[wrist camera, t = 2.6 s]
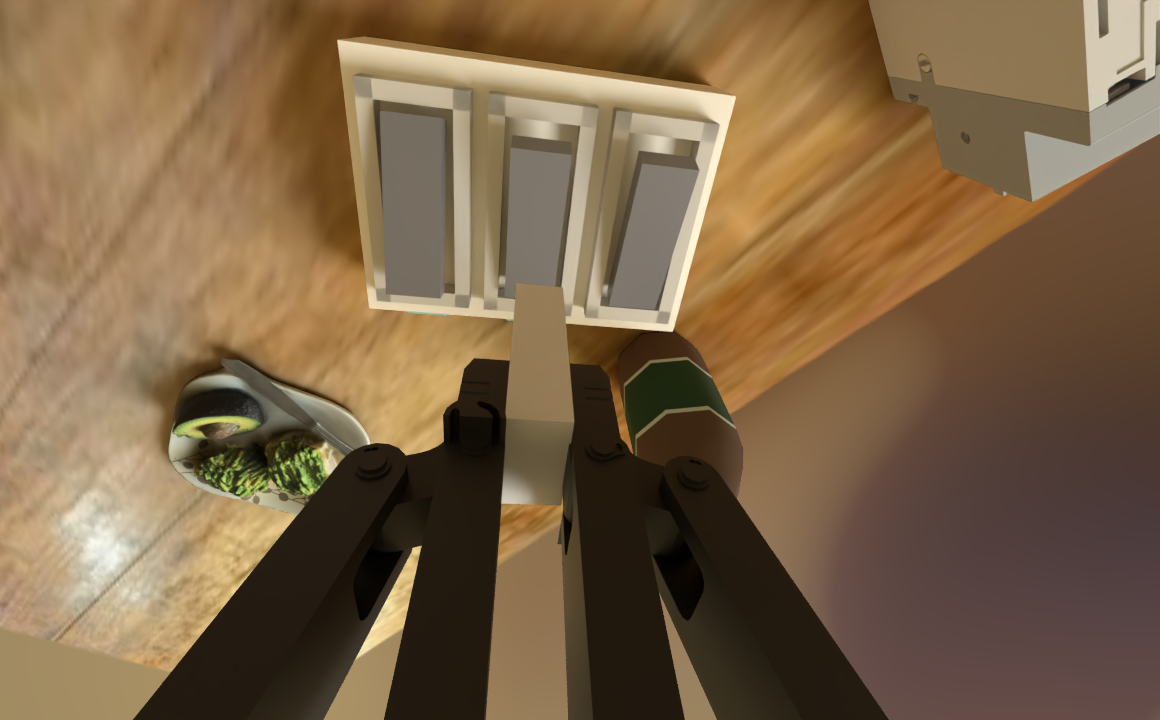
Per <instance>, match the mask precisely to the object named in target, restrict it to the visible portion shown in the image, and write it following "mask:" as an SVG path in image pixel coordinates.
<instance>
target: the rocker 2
mask: <svg viewBox="0 0 1160 720" xmlns="http://www.w3.org/2000/svg"><path fill="white" fill-rule="evenodd" d="M571 160H572V146H571V142H566V141H558V140H550V139H542V138H534V137H526V136H518V135H512V143H511V157H510V181H509V205H508V230H507V254H506V278H505V297H508V298H515V295H516V283H519V284H531V285H542V286H554V287H555V282H556V275H557V267H558V259H559V252H560V244H561V236H562V229H563V221H564V213H565V206H566V198H567V190H568V183H569V175H570V167H571Z"/></svg>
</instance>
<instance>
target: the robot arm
mask: <svg viewBox="0 0 1160 720" xmlns="http://www.w3.org/2000/svg"><path fill="white" fill-rule="evenodd" d="M443 425H444V442H443V443H442V444H440V445H439V446H437V447H435V448H433V449H431V450H429V451H425V452H422V453H417V454H412V455H407V456H405V454H404V453H403V452H402V451H401V450H400V449H399V448H397V447H395V446H392V445H390V444H380V443H375V444H369V445H364V446H361V447H359V448H357V449H355V450H353V451H351V452H350V453H349V454H348V455H346V456H345V457H344V458H343V459H342V460H341V461H340V463H339V464H338V465H337V466H336V468H335V469H334V470H333V471H332V473H331V474H330V475H329V476H328V478H327V479H326V480H325V481H324V483H323V484H322V485H321V486H320V488H319V489H318V490H317V491H316V493H315V494H314V495H313V496H312V498H311V499H310V500H309V501H308V503H307V504H306V505H305V506H304V508H303V509H302V510H301V511H300V513H299V514H298V515H297V516H296V518H295V519H294V520H293V521H292V523H291V524H290V525H289V526H288V527H287V529H286V530H285V531H284V532H283V534H282V535H281V536H280V537H279V539H278V540H277V541H276V542H275V544H274V545H273V546H272V547H271V549H270V550H269V551H268V552H267V554H266V555H265V556H264V557H263V559H262V560H261V561H260V562H259V564H258V565H257V566H256V567H255V569H254V570H253V571H252V572H251V574H250V575H249V576H248V577H247V579H246V580H245V581H244V582H243V584H242V585H241V586H240V587H239V588H238V590H237V591H236V592H235V593H234V595H233V596H232V597H231V598H230V600H229V601H228V602H227V603H226V605H225V606H224V607H223V608H222V610H221V611H220V612H219V613H218V615H217V616H216V617H215V618H214V620H213V621H212V622H211V623H210V625H209V626H208V627H207V628H206V630H205V631H204V632H203V633H202V635H201V636H200V637H199V638H198V640H197V641H196V642H195V643H194V645H193V646H192V647H191V648H190V649H189V651H188V652H187V653H186V654H185V656H184V657H183V658H182V659H181V661H180V662H179V663H178V664H177V666H176V667H175V668H174V669H173V671H172V672H171V673H170V674H169V676H168V677H167V678H166V679H165V681H164V682H163V683H162V685H161V686H160V687H159V688H158V689H157V691H156V692H155V693H154V694H153V696H152V697H151V698H150V699H149V701H148V702H147V703H146V704H145V706H144V707H143V708H142V709H141V710H140V712H139V713H138V714H137V715H136V717H135V718H134V719H133V720H323V719H324V717H325V715H326V714H327V712H328V710H329V708H330V706H331V704H332V702H333V700H334V698H335V697H336V695H337V693H338V691H339V688H340V687H341V685H342V683H343V681H344V679H345V677H346V675H347V674H348V672H349V670H350V668H351V666H352V664H353V662H354V660H355V658H356V657H357V655H358V653H359V651H360V649H361V647H362V645H363V643H364V641H365V639H366V637H367V636H368V634H369V632H370V630H371V628H372V626H373V624H374V622H375V620H376V618H377V617H378V615H379V613H380V611H381V609H382V607H383V605H384V603H385V601H386V599H387V597H388V596H389V594H390V592H391V590H392V588H393V586H394V584H395V582H396V580H397V578H398V577H399V575H400V573H401V571H402V569H403V567H404V565H405V563H406V561H407V559H408V557H409V556H410V554H411V552H412V548H414V547H417V546H421V545H422V547H421V552H420V556H419V561H418V566H417V570H416V575H415V579H414V584H413V588H412V593H411V598H410V602H409V607H408V611H407V616H406V621H405V625H404V630H403V634H402V639H401V644H400V648H399V653H398V657H397V662H396V666H395V671H394V676H393V680H392V685H391V690H390V694H389V699H388V703H387V708H386V712H385V717H384V720H485V719H486V705H487V692H488V678H489V665H490V652H491V639H492V626H493V612H494V599H495V598H494V597H495V584H496V572H497V558H498V545H499V531H500V517H501V503H504V504H535V505H561V502H562V496H563V514H562V520H561V526H560V533H559V539H558V544H562V565H563V592H564V618H565V643H566V670H567V696H568V720H685V719H684V713H683V709H682V704H681V699H680V694H679V689H678V684H677V679H676V674H675V669H674V664H673V659H672V655H671V650H670V645H669V640H668V635H667V630H666V625H665V620H664V615H663V610H662V605H661V600H660V596H659V593H660V595H661V597H662V599H663V601H664V603H665V606H666V608H667V610H668V612H669V615H670V617H671V619H672V621H673V624H674V626H675V628H676V630H677V632H678V635H679V637H680V639H681V641H682V643H683V646H684V648H685V650H686V652H687V654H688V656H689V658H690V661H691V663H692V665H693V668H694V670H695V672H696V674H697V676H698V679H699V681H700V683H701V685H702V687H703V689H704V692H705V694H706V696H707V698H708V701H709V703H710V705H711V707H712V709H713V711H714V714H715V716H716V718H717V720H889V719H888V718H887V716H886V715H885V714H884V712H883V711H882V709H881V708H880V706H879V705H878V704H877V702H876V700H875V699H874V698H873V696H872V695H871V693H870V692H869V690H868V689H867V688H866V686H865V685H864V683H863V682H862V680H861V679H860V677H859V676H858V675H857V673H856V672H855V670H854V669H853V667H852V666H851V664H850V663H849V661H848V660H847V659H846V657H845V656H844V654H843V653H842V651H841V650H840V648H839V647H838V645H837V644H836V643H835V641H834V640H833V638H832V637H831V635H830V634H829V632H828V631H827V629H826V628H825V627H824V625H823V624H822V622H821V621H820V619H819V618H818V616H817V615H816V614H815V612H814V611H813V609H812V608H811V606H810V605H809V603H808V602H807V600H806V599H805V598H804V596H803V595H802V593H801V592H800V590H799V589H798V587H797V586H796V584H795V583H794V581H793V580H792V579H791V577H790V576H789V574H788V573H787V571H786V570H785V568H784V567H783V566H782V564H781V563H780V561H779V560H778V558H777V557H776V555H775V554H774V553H773V551H772V550H771V548H770V547H769V545H768V544H767V542H766V541H765V539H764V538H763V536H762V535H761V534H760V532H759V531H758V529H757V528H756V526H755V525H754V523H753V522H752V521H751V519H750V518H749V516H748V515H747V513H746V512H745V510H744V509H743V507H742V506H741V505H740V503H739V502H738V500H737V499H736V497H735V496H734V494H733V493H732V491H731V490H730V489H729V487H728V486H727V484H726V483H725V481H724V480H723V478H722V477H721V476H720V474H719V473H718V472H717V471H716V470H715V469H714V468H713V467H712V465H710V464H708V463H707V462H705V461H703V460H702V459H698V458H695V457H691V456H678V457H675V458H672V459H670V461H669V462H668V463H667V464H666V465H665V466H662V465H658V464H655V463H652V462H648V461H646V460H643V459H640V458H639V457H637V456H635V455H634V454H632V453H631V452H630V450H629V448H628V446H627V444H626V443H625V442H624V441H623V440H622V439H621V438H620V433H619V428H618V423H617V417H616V412H615V407H614V402H613V396H612V391H611V386H610V381H609V377H608V375H607V374H606V373H605V372H604V370H603V369H602V368H601V367H600V366H597V365H583V364H569V353H568V341H567V329H566V318H565V306H564V294H563V287H554V286H542V285H531V284H519V283H516V295H515V307H514V318H513V330H512V342H511V353H510V361H506V360H491V359H476V358H474V359H473V360H472V361H471V362H470V363H469V364H468V365H467V367H466V368H465V369H464V373H463V378H462V383H461V387H460V393H459V397H458V401H456V402H454V403H453V404H451V405H450V406H449V407H447V409H446V411H445V413H444V415H443Z"/></svg>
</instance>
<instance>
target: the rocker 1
mask: <svg viewBox="0 0 1160 720" xmlns="http://www.w3.org/2000/svg"><path fill="white" fill-rule="evenodd" d="M380 131H381V161H382V191H383V221H384V252H385V282H386V294H389V295H402V296H414V297H426V298H438V299H441V297H442V295H443V294H444V292H445V204H446V120H445V119H442V118H436V117H428V116H420V115H412V114H404V113H396V112H388V111H380Z"/></svg>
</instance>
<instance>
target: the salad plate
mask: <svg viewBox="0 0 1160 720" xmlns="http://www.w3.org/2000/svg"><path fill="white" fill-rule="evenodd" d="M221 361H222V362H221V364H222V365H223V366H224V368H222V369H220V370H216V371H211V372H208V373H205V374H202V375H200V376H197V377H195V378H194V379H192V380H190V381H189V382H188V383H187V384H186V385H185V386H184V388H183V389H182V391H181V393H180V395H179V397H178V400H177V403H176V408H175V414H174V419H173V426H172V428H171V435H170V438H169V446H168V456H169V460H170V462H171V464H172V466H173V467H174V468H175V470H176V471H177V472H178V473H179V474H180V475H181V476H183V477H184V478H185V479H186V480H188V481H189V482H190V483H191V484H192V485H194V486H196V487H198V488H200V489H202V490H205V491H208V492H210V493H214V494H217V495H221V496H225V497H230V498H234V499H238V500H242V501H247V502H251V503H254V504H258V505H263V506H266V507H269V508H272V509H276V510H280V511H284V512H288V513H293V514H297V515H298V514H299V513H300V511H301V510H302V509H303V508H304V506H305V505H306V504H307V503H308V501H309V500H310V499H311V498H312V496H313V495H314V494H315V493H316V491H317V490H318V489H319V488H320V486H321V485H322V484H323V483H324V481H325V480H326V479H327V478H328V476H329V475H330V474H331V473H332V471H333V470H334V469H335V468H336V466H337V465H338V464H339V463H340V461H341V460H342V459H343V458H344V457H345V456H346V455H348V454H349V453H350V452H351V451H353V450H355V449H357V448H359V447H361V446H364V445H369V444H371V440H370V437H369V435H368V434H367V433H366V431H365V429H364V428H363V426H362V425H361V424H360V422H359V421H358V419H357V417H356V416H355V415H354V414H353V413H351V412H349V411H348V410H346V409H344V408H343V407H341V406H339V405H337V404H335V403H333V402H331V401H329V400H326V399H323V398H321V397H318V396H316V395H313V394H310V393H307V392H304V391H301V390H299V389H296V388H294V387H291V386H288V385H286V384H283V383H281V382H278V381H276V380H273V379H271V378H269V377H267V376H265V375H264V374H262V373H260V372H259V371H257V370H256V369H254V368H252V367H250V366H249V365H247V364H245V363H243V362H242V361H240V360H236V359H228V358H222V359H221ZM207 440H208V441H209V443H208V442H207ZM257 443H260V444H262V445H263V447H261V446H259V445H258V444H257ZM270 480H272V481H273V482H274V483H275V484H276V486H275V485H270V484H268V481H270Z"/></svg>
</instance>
